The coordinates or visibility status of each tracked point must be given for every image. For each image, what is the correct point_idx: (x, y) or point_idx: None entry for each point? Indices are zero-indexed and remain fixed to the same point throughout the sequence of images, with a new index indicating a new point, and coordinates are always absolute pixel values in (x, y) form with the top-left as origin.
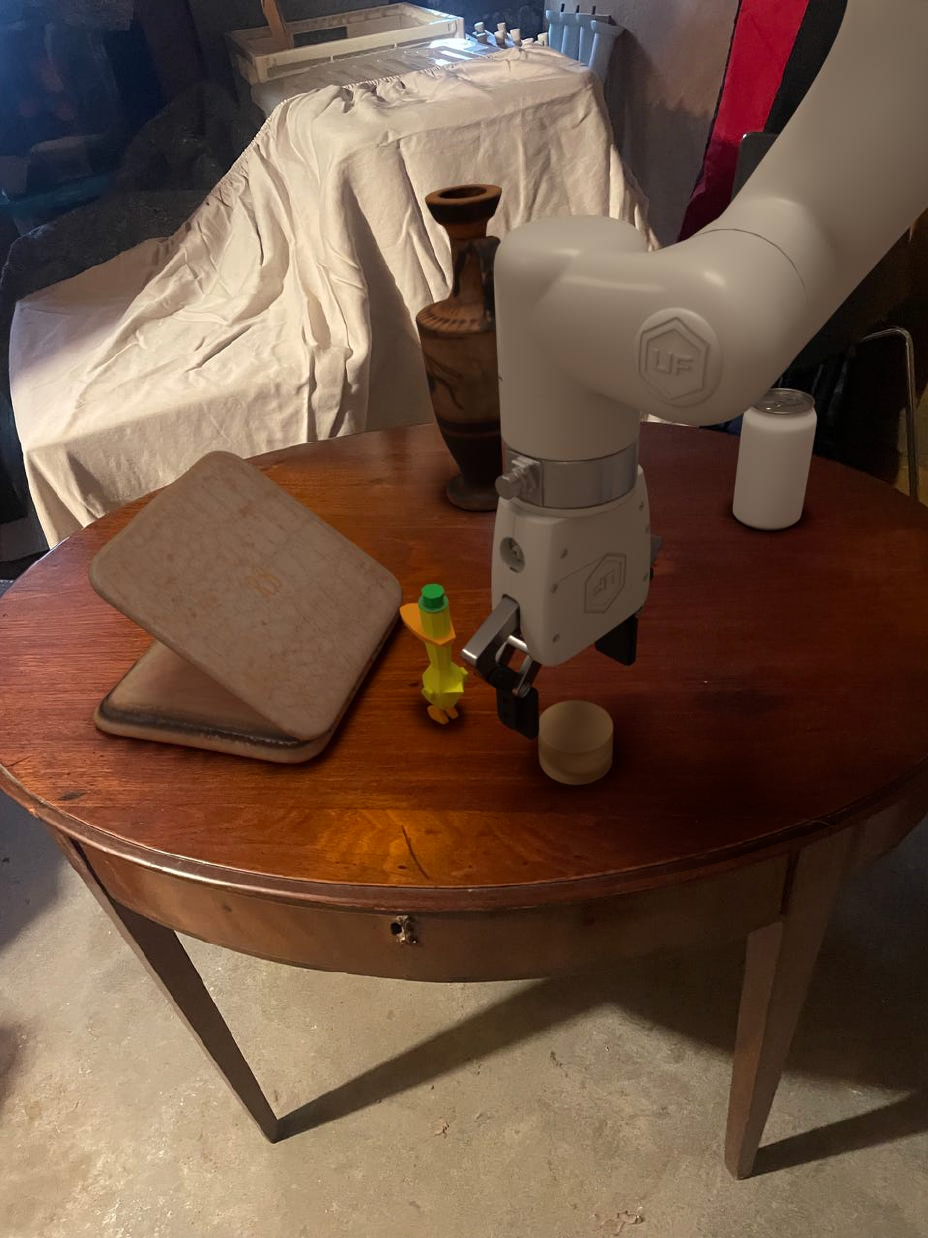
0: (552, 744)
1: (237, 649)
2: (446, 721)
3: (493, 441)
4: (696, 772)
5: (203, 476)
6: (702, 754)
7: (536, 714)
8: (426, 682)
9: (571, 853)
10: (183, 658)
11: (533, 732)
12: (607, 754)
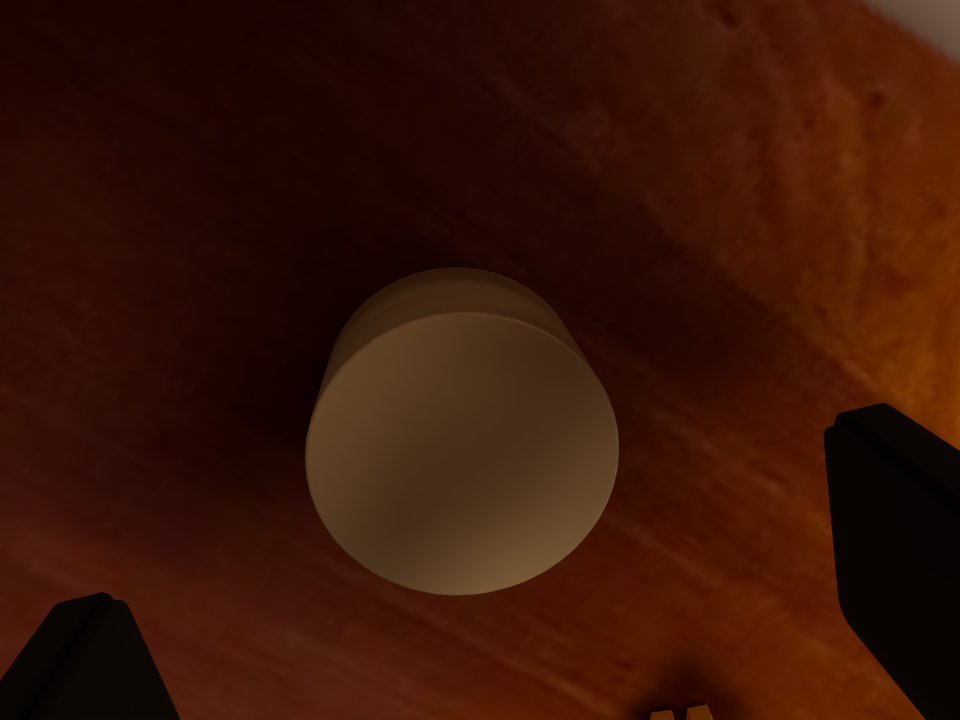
0: (606, 423)
1: None
2: (695, 710)
3: None
4: (103, 89)
5: None
6: (25, 152)
7: (958, 482)
8: None
9: (733, 41)
10: None
11: (911, 420)
12: (403, 301)
